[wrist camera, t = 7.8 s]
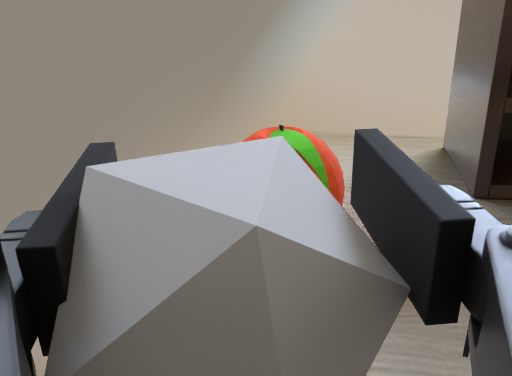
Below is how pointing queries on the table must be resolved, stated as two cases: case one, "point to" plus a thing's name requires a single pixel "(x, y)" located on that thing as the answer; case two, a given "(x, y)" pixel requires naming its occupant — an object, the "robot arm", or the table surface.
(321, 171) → the clementine
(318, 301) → the die
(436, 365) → the table surface
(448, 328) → the table surface
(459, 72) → the shelf
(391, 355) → the table surface
